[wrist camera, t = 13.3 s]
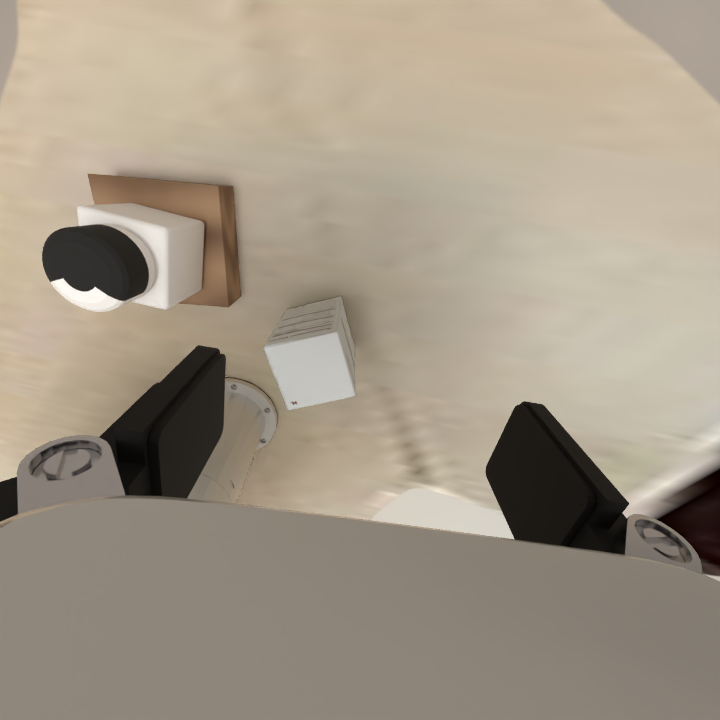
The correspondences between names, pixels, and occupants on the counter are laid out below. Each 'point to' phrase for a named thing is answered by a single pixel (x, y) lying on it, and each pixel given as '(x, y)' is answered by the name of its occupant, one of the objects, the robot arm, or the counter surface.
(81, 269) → the medicine bottle
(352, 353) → the supplement box
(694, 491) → the counter surface
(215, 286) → the walnut block
